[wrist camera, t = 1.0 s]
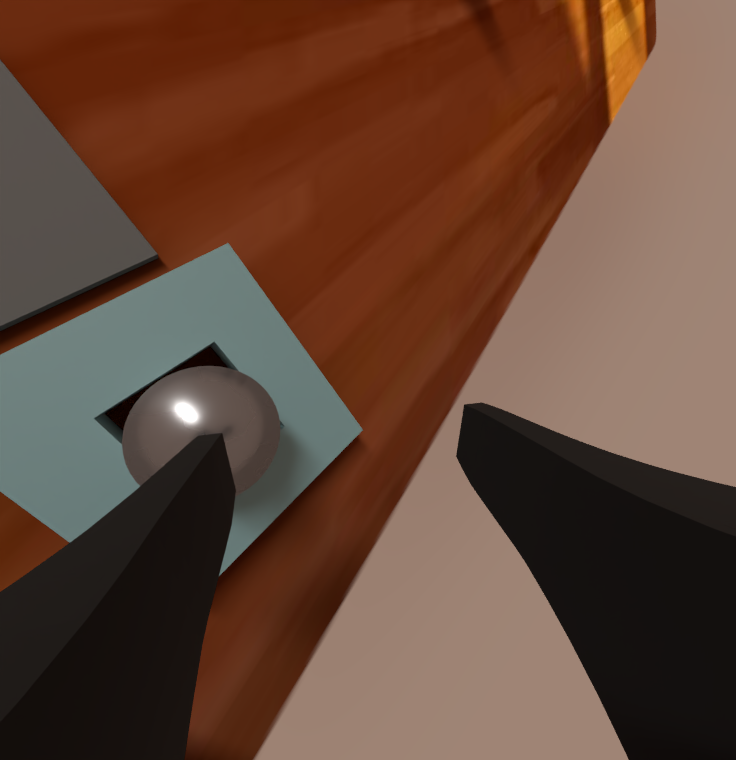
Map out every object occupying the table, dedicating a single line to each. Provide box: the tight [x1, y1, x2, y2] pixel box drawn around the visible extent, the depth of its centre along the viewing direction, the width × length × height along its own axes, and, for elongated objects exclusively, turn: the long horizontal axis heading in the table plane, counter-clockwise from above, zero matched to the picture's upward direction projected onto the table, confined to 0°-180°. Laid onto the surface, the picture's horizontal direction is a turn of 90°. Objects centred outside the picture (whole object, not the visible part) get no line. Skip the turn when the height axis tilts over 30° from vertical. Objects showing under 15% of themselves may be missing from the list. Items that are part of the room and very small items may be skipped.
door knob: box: [122, 366, 280, 496], centre depth 15 cm, size 6×6×7 cm
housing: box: [0, 243, 362, 576], centre depth 17 cm, size 14×14×2 cm
